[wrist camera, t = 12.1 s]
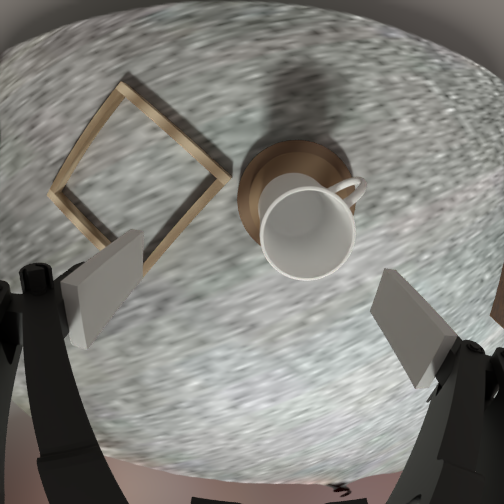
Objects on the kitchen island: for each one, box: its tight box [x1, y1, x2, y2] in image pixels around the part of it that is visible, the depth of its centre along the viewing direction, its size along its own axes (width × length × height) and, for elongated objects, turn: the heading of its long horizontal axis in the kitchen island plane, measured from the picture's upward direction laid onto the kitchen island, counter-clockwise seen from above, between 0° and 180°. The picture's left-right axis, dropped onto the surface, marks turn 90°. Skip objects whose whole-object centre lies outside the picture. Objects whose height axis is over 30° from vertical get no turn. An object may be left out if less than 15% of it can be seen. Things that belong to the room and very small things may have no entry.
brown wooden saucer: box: [237, 140, 356, 246], centre depth 36 cm, size 15×15×3 cm
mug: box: [258, 173, 367, 280], centre depth 29 cm, size 12×8×12 cm
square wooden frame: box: [47, 82, 232, 277], centre depth 37 cm, size 20×20×2 cm
